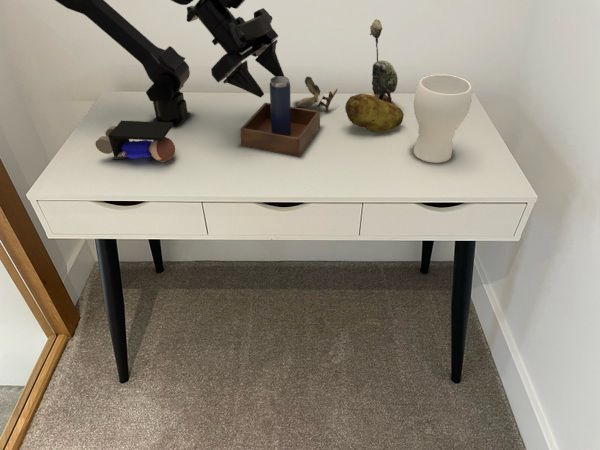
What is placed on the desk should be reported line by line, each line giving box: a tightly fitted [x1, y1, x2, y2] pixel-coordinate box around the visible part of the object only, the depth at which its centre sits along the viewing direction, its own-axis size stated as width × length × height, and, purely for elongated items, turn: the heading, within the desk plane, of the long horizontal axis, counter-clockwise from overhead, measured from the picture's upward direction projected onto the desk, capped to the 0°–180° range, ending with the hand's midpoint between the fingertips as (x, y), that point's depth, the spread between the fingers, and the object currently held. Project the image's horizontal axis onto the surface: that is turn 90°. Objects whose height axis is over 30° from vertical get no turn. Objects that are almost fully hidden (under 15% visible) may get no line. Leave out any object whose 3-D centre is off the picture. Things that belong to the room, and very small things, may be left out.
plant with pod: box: [369, 18, 398, 107], centre depth 114 cm, size 8×11×20 cm
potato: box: [344, 93, 405, 133], centre depth 110 cm, size 8×13×8 cm, turn 82°
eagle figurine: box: [294, 76, 339, 113], centre depth 119 cm, size 8×7×9 cm
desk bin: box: [239, 102, 321, 157], centre depth 109 cm, size 13×13×4 cm
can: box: [269, 75, 292, 136], centre depth 106 cm, size 4×4×12 cm
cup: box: [413, 73, 473, 164], centre depth 100 cm, size 11×11×15 cm
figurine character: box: [95, 120, 176, 163], centre depth 101 cm, size 7×8×15 cm
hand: (273, 87), depth 104 cm, fingers open, 9 cm apart
